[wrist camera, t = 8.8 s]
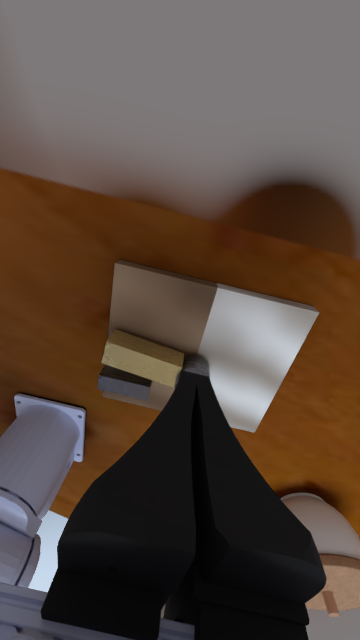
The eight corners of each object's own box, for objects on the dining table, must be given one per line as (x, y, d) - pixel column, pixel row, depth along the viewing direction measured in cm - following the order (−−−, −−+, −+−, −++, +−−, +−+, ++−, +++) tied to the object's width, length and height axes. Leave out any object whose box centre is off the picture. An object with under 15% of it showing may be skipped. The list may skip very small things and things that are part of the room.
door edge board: (252, 422, 26) (254, 432, 25) (106, 388, 26) (102, 396, 25) (313, 306, 20) (319, 312, 18) (119, 259, 19) (114, 263, 18)
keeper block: (152, 382, 23) (147, 401, 21) (107, 371, 23) (97, 389, 21) (155, 369, 22) (150, 387, 20) (109, 358, 22) (98, 375, 20)
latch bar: (214, 361, 21) (215, 381, 19) (202, 384, 22) (202, 405, 20) (116, 326, 20) (104, 342, 18) (109, 352, 22) (97, 370, 19)
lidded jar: (282, 533, 35) (306, 638, 27) (242, 496, 32) (255, 601, 24) (358, 515, 31) (414, 629, 23) (322, 470, 28) (370, 584, 20)
